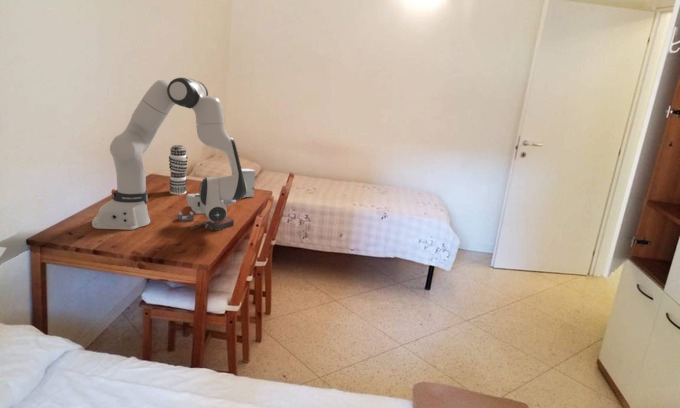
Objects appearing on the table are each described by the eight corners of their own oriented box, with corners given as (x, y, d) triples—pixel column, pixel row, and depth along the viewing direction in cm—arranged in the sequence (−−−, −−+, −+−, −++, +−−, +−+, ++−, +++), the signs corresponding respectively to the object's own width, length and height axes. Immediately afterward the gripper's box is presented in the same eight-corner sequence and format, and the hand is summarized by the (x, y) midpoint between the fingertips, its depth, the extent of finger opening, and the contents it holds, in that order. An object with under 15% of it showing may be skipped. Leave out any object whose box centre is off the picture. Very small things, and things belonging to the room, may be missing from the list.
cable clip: (179, 221, 210) (179, 214, 210) (178, 218, 214) (178, 211, 213) (193, 220, 213) (193, 214, 212) (192, 217, 216) (192, 211, 215)
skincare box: (240, 198, 253) (241, 171, 248) (235, 195, 257) (236, 168, 253) (254, 197, 258) (255, 170, 253) (249, 194, 262) (250, 167, 258)
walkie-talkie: (222, 220, 218) (187, 230, 201) (223, 211, 217) (188, 221, 200) (236, 225, 214) (202, 236, 197) (237, 216, 212) (202, 226, 196)
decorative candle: (172, 189, 256) (172, 143, 249) (189, 191, 256) (190, 145, 249) (166, 193, 248) (165, 146, 240) (183, 195, 247) (183, 148, 240)
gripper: (237, 195, 207) (232, 187, 219) (188, 196, 199) (185, 187, 211) (236, 209, 209) (231, 200, 221) (188, 210, 201) (185, 201, 213)
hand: (208, 194), depth 216 cm, fingers open, 8 cm apart
